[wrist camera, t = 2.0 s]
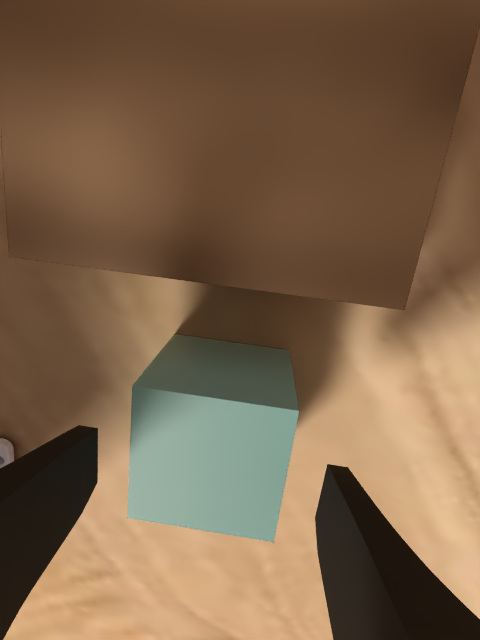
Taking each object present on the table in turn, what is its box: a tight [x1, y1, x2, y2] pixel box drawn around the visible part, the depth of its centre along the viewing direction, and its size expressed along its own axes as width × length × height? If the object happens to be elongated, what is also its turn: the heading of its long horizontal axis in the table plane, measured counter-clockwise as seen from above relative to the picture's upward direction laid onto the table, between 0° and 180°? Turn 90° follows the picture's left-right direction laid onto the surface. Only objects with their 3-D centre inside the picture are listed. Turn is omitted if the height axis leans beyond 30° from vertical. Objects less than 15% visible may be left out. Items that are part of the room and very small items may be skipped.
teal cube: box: [127, 334, 299, 542], centre depth 13 cm, size 5×5×5 cm
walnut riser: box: [0, 0, 480, 310], centre depth 11 cm, size 13×13×3 cm
